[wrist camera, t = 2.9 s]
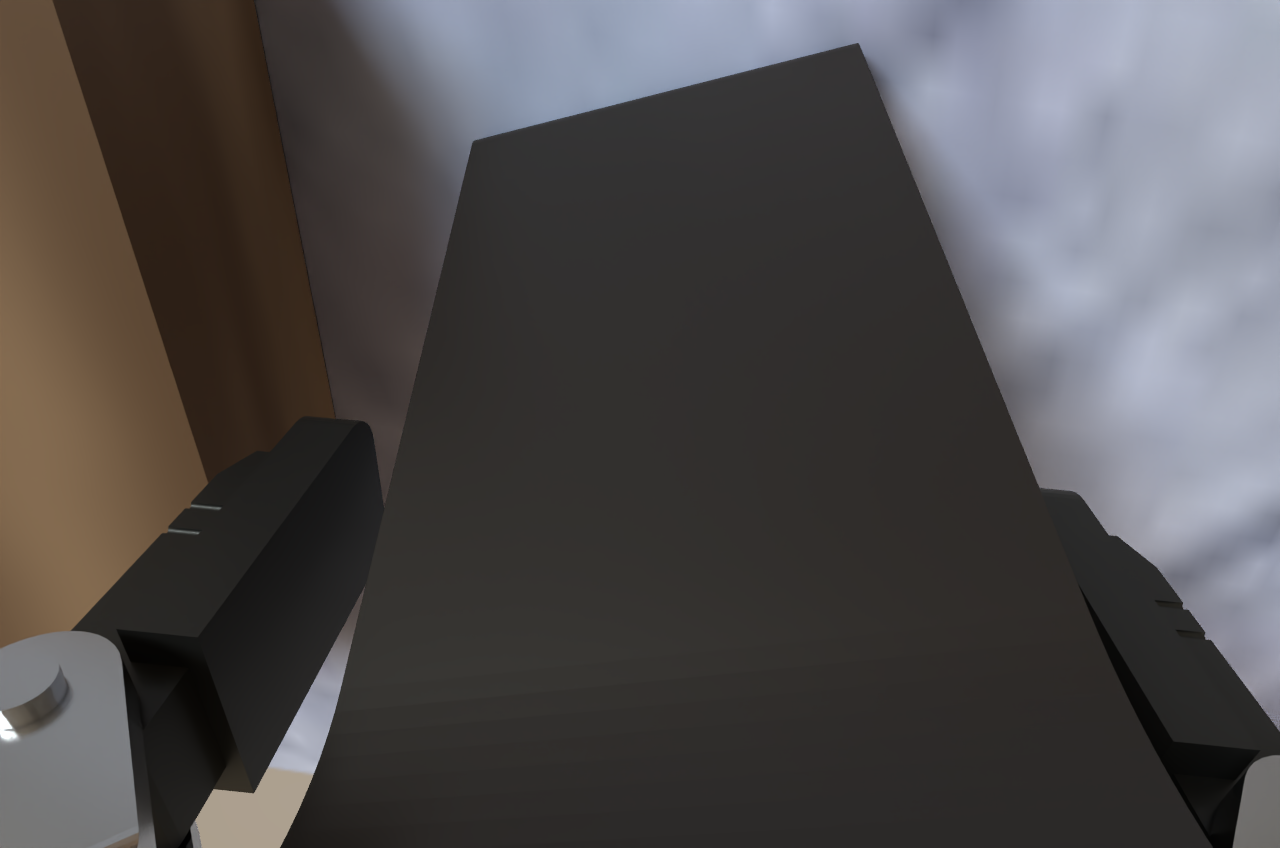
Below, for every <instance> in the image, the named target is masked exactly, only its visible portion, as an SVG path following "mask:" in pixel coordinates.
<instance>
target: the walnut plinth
mask: <svg viewBox="0 0 1280 848" xmlns="http://www.w3.org/2000/svg"><path fill="white" fill-rule="evenodd" d="M304 416H312V417H322V418H333V419H336V418H335V413H334V408H333V403H332V398H331V393H330V387H329V382H328V377H327V372H326V367H325V362H324V357H323V352H322V346H321V341H320V336H319V331H318V326H317V321H316V316H315V311H314V305H313V300H312V295H311V290H310V285H309V280H308V275H307V270H306V265H305V259H304V254H303V249H302V244H301V239H300V234H299V229H298V224H297V218H296V213H295V208H294V203H293V198H292V193H291V188H290V183H289V177H288V172H287V167H286V162H285V157H284V152H283V147H282V142H281V136H280V131H279V126H278V121H277V116H276V111H275V106H274V101H273V96H272V90H271V85H270V80H269V75H268V70H267V65H266V60H265V55H264V49H263V44H262V39H261V34H260V29H259V24H258V19H257V14H256V8H255V3H254V0H0V649H1V648H3V647H5V646H7V645H10V644H12V643H15V642H18V641H21V640H24V639H27V638H30V637H34V636H38V635H42V634H47V633H53V632H61V631H71V630H72V629H73V628H74V627H75V626H76V625H77V623H78V622H79V621H80V620H81V619H82V618H83V617H84V616H85V615H86V614H87V613H88V612H89V611H90V610H91V608H92V607H93V606H94V605H95V604H96V603H97V602H98V601H99V600H100V599H101V598H102V597H103V596H104V595H105V594H106V592H107V591H108V590H109V589H110V588H111V587H112V586H113V585H114V584H115V583H116V582H117V581H118V580H119V579H120V577H121V576H122V575H123V574H124V573H125V572H126V571H127V570H128V569H129V568H130V567H131V566H132V565H133V564H134V563H135V561H136V560H137V559H138V558H139V557H140V556H141V555H142V554H143V553H144V552H145V551H146V550H147V549H148V548H149V546H150V545H151V544H152V543H153V542H154V541H155V540H156V539H157V538H158V537H159V536H160V535H161V534H162V533H167V532H168V526H169V525H170V524H171V523H172V522H173V521H174V520H175V519H176V518H177V517H178V515H179V514H180V513H181V512H182V511H183V510H184V509H185V508H188V509H190V507H191V502H192V501H193V499H194V498H195V497H196V496H197V495H198V494H199V493H200V492H201V491H202V490H203V489H204V488H205V487H206V486H207V484H208V483H209V482H210V481H211V480H212V479H213V478H214V477H215V476H216V475H217V474H218V473H220V472H221V471H223V470H225V469H226V468H228V467H230V466H232V465H233V464H235V463H237V462H238V461H240V460H242V459H244V458H245V457H247V456H249V455H251V454H252V453H254V452H256V451H264V452H270V451H271V450H272V449H273V448H274V447H275V446H276V444H277V443H278V442H279V441H280V440H281V439H282V438H283V436H284V435H285V434H286V433H287V432H288V431H289V430H290V428H291V427H292V426H293V425H294V424H295V423H296V422H297V421H298V420H299V419H300V418H302V417H304Z"/></svg>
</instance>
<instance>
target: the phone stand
mask: <svg viewBox="0 0 1280 848" xmlns="http://www.w3.org/2000/svg"><path fill="white" fill-rule="evenodd" d="M280 848H1213V847H1212V845H1211V844H1210V842H1209V841H1208V839H1207V838H1206V836H1205V834H1204V833H1203V831H1202V830H1201V828H1200V826H1199V825H1198V823H1197V822H1196V820H1195V818H1194V817H1193V815H1192V813H1191V812H1190V810H1189V809H1188V807H1187V805H1186V804H1185V802H1184V800H1183V798H1182V797H1181V795H1180V793H1179V792H1178V790H1177V788H1176V787H1175V785H1174V783H1173V781H1172V780H1171V778H1170V776H1169V774H1168V773H1167V771H1166V769H1165V767H1164V765H1163V764H1162V762H1161V760H1160V758H1159V756H1158V755H1157V753H1156V751H1155V749H1154V747H1153V746H1152V744H1151V742H1150V740H1149V738H1148V736H1147V734H1146V732H1145V730H1144V728H1143V727H1142V725H1141V723H1140V721H1139V719H1138V717H1137V715H1136V713H1135V711H1134V709H1133V707H1132V705H1131V703H1130V701H1129V699H1128V697H1127V695H1126V693H1125V691H1124V689H1123V687H1122V684H1121V682H1120V680H1119V678H1118V676H1117V674H1116V672H1115V670H1114V667H1113V665H1112V663H1111V661H1110V659H1109V656H1108V654H1107V652H1106V650H1105V647H1104V645H1103V643H1102V641H1101V638H1100V636H1099V634H1098V631H1097V629H1096V626H1095V624H1094V622H1093V619H1092V617H1091V615H1090V612H1089V610H1088V607H1087V605H1086V602H1085V600H1084V597H1083V595H1082V592H1081V590H1080V588H1079V585H1078V583H1077V580H1076V578H1075V575H1074V573H1073V570H1072V568H1071V565H1070V563H1069V560H1068V558H1067V555H1066V553H1065V551H1064V548H1063V546H1062V543H1061V541H1060V538H1059V536H1058V533H1057V531H1056V528H1055V526H1054V523H1053V521H1052V518H1051V516H1050V514H1049V511H1048V509H1047V506H1046V504H1045V501H1044V499H1043V496H1042V494H1041V491H1040V489H1039V486H1038V484H1037V482H1036V479H1035V477H1034V474H1033V472H1032V469H1031V467H1030V464H1029V462H1028V459H1027V457H1026V454H1025V452H1024V449H1023V447H1022V445H1021V442H1020V440H1019V437H1018V435H1017V432H1016V430H1015V427H1014V425H1013V422H1012V420H1011V417H1010V415H1009V413H1008V410H1007V408H1006V405H1005V403H1004V400H1003V398H1002V395H1001V393H1000V390H999V388H998V385H997V383H996V380H995V378H994V376H993V373H992V371H991V368H990V366H989V363H988V361H987V358H986V356H985V353H984V351H983V348H982V346H981V344H980V341H979V339H978V336H977V334H976V331H975V329H974V326H973V324H972V321H971V319H970V316H969V314H968V311H967V309H966V307H965V304H964V302H963V299H962V297H961V294H960V292H959V289H958V287H957V284H956V282H955V279H954V277H953V275H952V272H951V270H950V267H949V265H948V262H947V260H946V257H945V255H944V252H943V250H942V247H941V245H940V242H939V240H938V238H937V235H936V233H935V230H934V228H933V225H932V223H931V220H930V218H929V215H928V213H927V210H926V208H925V206H924V203H923V201H922V198H921V196H920V193H919V191H918V188H917V186H916V183H915V181H914V178H913V176H912V173H911V171H910V169H909V166H908V164H907V161H906V159H905V156H904V154H903V151H902V149H901V146H900V144H899V141H898V139H897V137H896V134H895V132H894V129H893V127H892V124H891V122H890V119H889V117H888V114H887V112H886V109H885V107H884V104H883V102H882V100H881V97H880V95H879V92H878V90H877V87H876V85H875V82H874V80H873V77H872V75H871V72H870V70H869V68H868V65H867V63H866V60H865V58H864V55H863V53H862V50H861V48H860V45H859V44H858V43H856V44H852V45H848V46H844V47H840V48H836V49H832V50H828V51H824V52H820V53H817V54H813V55H809V56H805V57H801V58H797V59H793V60H789V61H785V62H781V63H777V64H773V65H769V66H766V67H762V68H758V69H754V70H750V71H746V72H742V73H738V74H734V75H730V76H726V77H722V78H718V79H714V80H711V81H707V82H703V83H699V84H695V85H691V86H687V87H683V88H679V89H675V90H671V91H667V92H663V93H659V94H656V95H652V96H648V97H644V98H640V99H636V100H632V101H628V102H624V103H620V104H616V105H612V106H608V107H604V108H601V109H597V110H593V111H589V112H585V113H581V114H577V115H573V116H569V117H565V118H561V119H557V120H553V121H549V122H546V123H542V124H538V125H534V126H530V127H526V128H522V129H518V130H514V131H510V132H506V133H502V134H498V135H495V136H491V137H487V138H483V139H479V140H475V141H473V143H472V147H471V151H470V155H469V160H468V164H467V168H466V172H465V176H464V180H463V184H462V189H461V193H460V197H459V201H458V205H457V209H456V213H455V218H454V222H453V226H452V230H451V234H450V238H449V242H448V247H447V251H446V255H445V259H444V263H443V267H442V272H441V276H440V280H439V284H438V288H437V292H436V296H435V301H434V305H433V309H432V313H431V317H430V321H429V325H428V330H427V334H426V338H425V342H424V346H423V350H422V355H421V359H420V363H419V367H418V371H417V375H416V379H415V384H414V388H413V392H412V396H411V400H410V404H409V408H408V413H407V417H406V421H405V425H404V429H403V433H402V438H401V442H400V446H399V450H398V454H397V458H396V462H395V467H394V471H393V475H392V479H391V483H390V487H389V491H388V496H387V500H386V504H385V508H384V512H383V516H382V521H381V525H380V529H379V533H378V537H377V541H376V545H375V550H374V554H373V558H372V562H371V566H370V570H369V574H368V579H367V583H366V587H365V591H364V595H363V599H362V603H361V608H360V612H359V616H358V620H357V624H356V628H355V633H354V637H353V641H352V645H351V649H350V653H349V657H348V662H347V666H346V670H345V674H344V678H343V682H342V686H341V691H340V694H339V698H338V702H337V706H336V710H335V713H334V717H333V720H332V723H331V727H330V730H329V733H328V736H327V739H326V742H325V745H324V748H323V751H322V754H321V757H320V760H319V762H318V765H317V767H316V770H315V773H314V775H313V778H312V780H311V783H310V785H309V788H308V790H307V792H306V795H305V797H304V799H303V802H302V804H301V806H300V808H299V811H298V813H297V815H296V817H295V819H294V821H293V823H292V825H291V828H290V830H289V832H288V834H287V836H286V837H285V839H284V841H283V843H282V845H281V847H280Z"/></svg>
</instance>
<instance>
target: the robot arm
mask: <svg viewBox="0 0 1280 848" xmlns="http://www.w3.org/2000/svg"><path fill="white" fill-rule="evenodd" d="M1039 489H1040V491H1041V494H1042V496H1043V499H1044V501H1045V504H1046V506H1047V509H1048V511H1049V514H1050V516H1051V518H1052V521H1053V523H1054V526H1055V528H1056V531H1057V533H1058V536H1059V538H1060V541H1061V543H1062V546H1063V548H1064V551H1065V553H1066V555H1067V558H1068V560H1069V563H1070V565H1071V568H1072V570H1073V573H1074V575H1075V578H1076V580H1077V583H1078V585H1079V588H1080V590H1081V592H1082V595H1083V597H1084V600H1085V602H1086V605H1087V607H1088V610H1089V612H1090V615H1091V617H1092V619H1093V622H1094V624H1095V626H1096V629H1097V631H1098V634H1099V636H1100V638H1101V641H1102V643H1103V645H1104V647H1105V650H1106V652H1107V654H1108V656H1109V659H1110V661H1111V663H1112V665H1113V667H1114V670H1115V672H1116V674H1117V676H1118V678H1119V680H1120V682H1121V684H1122V687H1123V689H1124V691H1125V693H1126V695H1127V697H1128V699H1129V701H1130V703H1131V705H1132V707H1133V709H1134V711H1135V713H1136V715H1137V717H1138V719H1139V721H1140V723H1141V725H1142V727H1143V728H1144V730H1145V732H1146V734H1147V736H1148V738H1149V740H1150V742H1151V744H1152V746H1153V747H1154V749H1155V751H1156V753H1157V755H1158V756H1159V758H1160V760H1161V762H1162V764H1163V765H1164V767H1165V769H1166V771H1167V773H1168V774H1169V776H1170V778H1171V780H1172V781H1173V783H1174V785H1175V787H1176V788H1177V790H1178V792H1179V793H1180V795H1181V797H1182V798H1183V800H1184V802H1185V804H1186V805H1187V807H1188V809H1189V810H1190V812H1191V813H1192V815H1193V817H1194V818H1195V820H1196V822H1197V823H1198V825H1199V826H1200V828H1201V830H1202V831H1203V833H1204V834H1205V836H1206V838H1207V839H1208V841H1209V842H1210V844H1211V845H1212V847H1213V848H1280V732H1279V730H1278V729H1277V728H1276V726H1275V725H1274V724H1273V722H1272V721H1271V720H1270V718H1269V717H1268V716H1267V714H1266V713H1265V712H1264V710H1263V709H1262V708H1261V706H1260V705H1259V704H1258V702H1257V701H1256V700H1255V698H1254V697H1253V696H1252V694H1251V693H1250V692H1249V690H1248V689H1247V688H1246V686H1245V685H1244V684H1243V682H1242V681H1241V680H1240V678H1239V677H1238V676H1237V674H1236V673H1235V672H1234V670H1233V669H1232V668H1231V666H1230V665H1229V664H1228V662H1227V661H1226V660H1225V658H1224V657H1223V656H1222V654H1221V653H1220V652H1219V650H1218V649H1217V648H1216V646H1215V645H1214V643H1213V642H1212V641H1211V640H1206V639H1205V636H1204V635H1205V631H1204V630H1203V629H1202V627H1201V626H1200V625H1199V623H1198V622H1197V621H1196V619H1195V618H1194V617H1193V615H1192V614H1191V613H1190V611H1189V610H1184V609H1183V608H1182V604H1183V602H1182V601H1181V599H1180V598H1179V597H1178V595H1177V594H1176V593H1175V591H1174V590H1173V589H1172V587H1171V586H1170V585H1169V583H1168V582H1167V581H1166V579H1165V578H1164V577H1163V575H1162V574H1161V573H1160V571H1159V570H1158V569H1157V567H1155V566H1154V565H1153V564H1152V563H1150V562H1149V561H1148V560H1146V559H1145V558H1144V557H1143V556H1141V555H1140V554H1139V553H1138V552H1136V551H1135V550H1134V549H1133V548H1131V547H1130V546H1129V545H1128V544H1126V543H1125V542H1124V541H1123V540H1121V539H1120V538H1119V537H1118V536H1110V535H1108V534H1107V532H1106V531H1105V529H1104V528H1103V527H1102V525H1101V524H1100V522H1099V521H1098V520H1097V518H1096V517H1095V515H1094V514H1093V512H1092V511H1091V510H1090V508H1089V507H1088V505H1087V504H1086V503H1085V501H1084V500H1083V499H1082V497H1081V496H1080V495H1078V494H1077V493H1075V492H1073V491H1065V490H1054V489H1044V488H1039ZM383 512H384V506H383V500H382V493H381V486H380V479H379V472H378V465H377V459H376V452H375V445H374V439H373V434H372V431H371V428H370V426H369V425H368V424H367V423H366V422H363V421H354V420H343V419H333V418H322V417H312V416H304V417H302V418H300V419H299V420H298V421H297V422H296V423H295V424H294V425H293V426H292V427H291V428H290V430H289V431H288V432H287V433H286V434H285V435H284V436H283V438H282V439H281V440H280V441H279V442H278V443H277V444H276V446H275V447H274V448H273V449H272V450H271V451H270V452H264V451H256V452H254V453H252V454H251V455H249V456H247V457H245V458H244V459H242V460H240V461H238V462H237V463H235V464H233V465H232V466H230V467H228V468H226V469H225V470H223V471H221V472H220V473H218V474H217V475H216V476H215V477H214V478H213V479H212V480H211V481H210V482H209V483H208V484H207V486H206V487H205V488H204V489H203V490H202V491H201V492H200V493H199V494H198V495H197V496H196V497H195V498H194V499H193V501H192V502H191V507H190V509H188V508H185V509H184V510H183V511H182V512H181V513H180V514H179V515H178V517H177V518H176V519H175V520H174V521H173V522H172V523H171V524H170V525H169V526H168V532H167V533H162V534H161V535H160V536H159V537H158V538H157V539H156V540H155V541H154V542H153V543H152V544H151V545H150V546H149V548H148V549H147V550H146V551H145V552H144V553H143V554H142V555H141V556H140V557H139V558H138V559H137V560H136V561H135V563H134V564H133V565H132V566H131V567H130V568H129V569H128V570H127V571H126V572H125V573H124V574H123V575H122V576H121V577H120V579H119V580H118V581H117V582H116V583H115V584H114V585H113V586H112V587H111V588H110V589H109V590H108V591H107V592H106V594H105V595H104V596H103V597H102V598H101V599H100V600H99V601H98V602H97V603H96V604H95V605H94V606H93V607H92V608H91V610H90V611H89V612H88V613H87V614H86V615H85V616H84V617H83V618H82V619H81V620H80V621H79V622H78V623H77V625H76V626H75V627H74V628H73V629H72V630H71V631H61V632H53V633H47V634H42V635H38V636H34V637H30V638H27V639H24V640H21V641H18V642H15V643H12V644H10V645H7V646H5V647H3V648H1V649H0V848H202V847H201V841H200V835H199V831H198V827H197V824H196V822H195V819H196V818H197V816H198V814H199V813H200V811H201V809H202V807H203V806H204V804H205V802H206V801H207V799H208V797H209V796H210V794H211V792H212V790H213V789H218V790H228V791H238V792H246V793H247V792H248V793H254V792H255V790H256V788H257V787H258V785H259V783H260V781H261V779H262V777H263V775H264V773H265V772H266V770H267V768H268V766H269V764H270V762H271V760H272V758H273V757H274V755H275V753H276V751H277V749H278V747H279V745H280V743H281V742H282V740H283V738H284V736H285V734H286V732H287V730H288V729H289V727H290V725H291V723H292V721H293V719H294V717H295V715H296V714H297V712H298V710H299V708H300V706H301V704H302V702H303V700H304V699H305V697H306V695H307V693H308V691H309V689H310V687H311V685H312V684H313V682H314V680H315V678H316V676H317V674H318V672H319V670H320V669H321V667H322V665H323V663H324V661H325V659H326V657H327V656H328V654H329V652H330V650H331V648H332V646H333V644H334V642H335V641H336V639H337V637H338V635H339V633H340V631H341V629H342V627H343V626H344V624H345V622H346V620H347V618H348V616H349V614H350V612H351V611H352V609H353V607H354V605H355V603H356V601H357V599H358V598H359V596H360V594H361V592H362V590H363V588H364V586H365V584H366V583H367V579H368V574H369V570H370V566H371V562H372V558H373V554H374V550H375V545H376V541H377V537H378V533H379V529H380V525H381V521H382V516H383Z"/></svg>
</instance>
